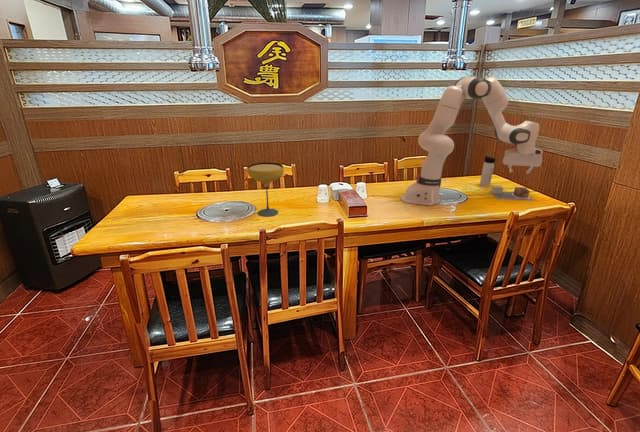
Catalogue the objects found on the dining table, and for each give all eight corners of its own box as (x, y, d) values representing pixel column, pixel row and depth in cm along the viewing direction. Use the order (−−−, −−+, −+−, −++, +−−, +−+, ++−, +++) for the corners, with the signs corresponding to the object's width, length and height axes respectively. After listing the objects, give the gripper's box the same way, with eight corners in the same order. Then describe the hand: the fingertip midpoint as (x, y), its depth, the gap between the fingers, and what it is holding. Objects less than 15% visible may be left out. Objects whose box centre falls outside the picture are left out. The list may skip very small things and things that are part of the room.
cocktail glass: (287, 206, 191) (285, 162, 181) (282, 219, 174) (280, 171, 165) (254, 206, 192) (251, 162, 182) (247, 219, 175) (243, 171, 165)
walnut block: (517, 197, 206) (518, 190, 204) (513, 194, 211) (515, 187, 209) (527, 197, 205) (529, 190, 203) (523, 194, 210) (525, 187, 209)
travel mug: (478, 184, 231) (484, 155, 224) (489, 185, 229) (495, 156, 222) (479, 187, 226) (484, 157, 218) (490, 188, 224) (496, 158, 216)
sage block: (493, 193, 212) (494, 187, 210) (490, 191, 216) (492, 185, 215) (501, 194, 211) (503, 187, 210) (499, 191, 216) (500, 185, 214)
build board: (497, 200, 204) (497, 198, 203) (489, 192, 217) (489, 190, 217) (533, 202, 201) (533, 200, 201) (523, 194, 215) (523, 192, 214)
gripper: (507, 149, 197) (502, 173, 202) (546, 151, 194) (539, 175, 199) (504, 147, 203) (498, 170, 208) (541, 149, 200) (535, 172, 205)
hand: (519, 172), depth 204 cm, fingers open, 8 cm apart
